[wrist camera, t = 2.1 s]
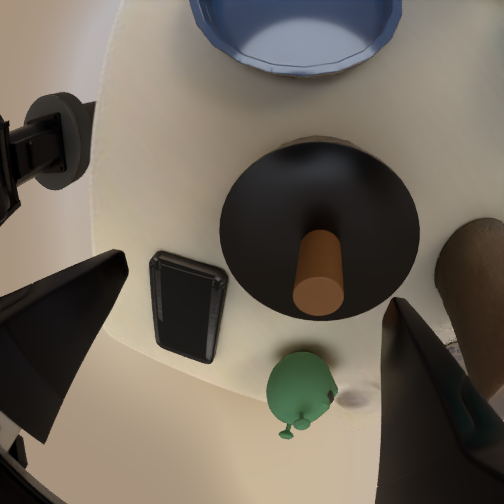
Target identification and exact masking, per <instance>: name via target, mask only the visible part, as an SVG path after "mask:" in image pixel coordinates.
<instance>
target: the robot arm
mask: <svg viewBox="0 0 504 504" xmlns="http://www.w3.org/2000/svg"><path fill="white" fill-rule="evenodd" d="M9 126H10V125H9V121H4V120H3V118H2V117H1V115H0V226H1V225H2V224H3V223H4V222H5V221H6V220H7V219H8V218H9V217H10V216H11V215H12V214H13V213H14V212H15V210H17V209H18V208H19V207H20V206H21V203H20V200H19V196H18V192H17V187H18V186H20V185H22V184H23V183H25V182H27V181H29V180H30V179H32V178H34V177H36V176H38V175H40V174H42V173H63V172H65V171H66V170H67V164H66V157H65V150H64V142H63V133H62V123H61V114H60V113H59V112H56V113H52V114H49V115H45V116H42V117H38V118H35V119H32V120H29V121H27V125H26V126H23V127H20V128H18V129H15V130H13V131H10V132H9ZM128 274H129V269H128V265H127V261H126V257H125V253H124V252H123V251H121V250H117V249H112V250H110V251H107V252H105V253H102V254H100V255H97V256H95V257H92V258H90V259H87V260H85V261H83V262H80V263H78V264H75V265H73V266H71V267H68V268H66V269H64V270H61V271H59V272H57V273H55V274H52V275H50V276H47V277H45V278H43V279H41V280H38V281H36V282H34V283H33V284H30V285H27V286H25V287H23V288H21V289H19V290H17V291H14V292H12V293H9V294H7V295H4V296H2V297H0V504H67V503H65V502H64V501H63V500H61V499H60V498H58V497H57V496H56V495H55V494H53V493H52V492H51V491H49V490H48V489H47V488H46V487H45V486H43V485H42V484H41V483H39V481H37V480H36V479H35V478H34V477H33V476H32V475H31V474H29V473H28V472H27V471H26V470H25V468H26V467H27V465H28V463H27V458H26V453H25V447H24V441H23V437H22V436H20V435H19V432H20V430H21V429H23V430H25V431H26V432H27V433H29V434H30V435H31V436H33V437H34V438H35V439H37V440H38V441H40V442H41V443H43V444H45V442H46V440H47V438H48V435H49V433H50V430H51V428H52V426H53V423H54V421H55V418H56V416H57V414H58V412H59V409H60V407H61V405H62V403H63V399H64V398H65V396H66V394H67V392H68V390H69V388H70V386H71V384H72V382H73V380H74V378H75V375H76V373H77V372H78V370H79V368H80V366H81V364H82V362H83V360H84V358H85V356H86V354H87V352H88V350H89V348H90V347H91V345H92V343H93V341H94V339H95V338H96V335H97V334H98V332H99V330H100V329H101V327H102V325H103V324H104V322H105V320H106V318H107V317H108V315H109V313H110V311H111V310H112V308H113V306H114V304H115V301H116V299H117V297H118V295H119V293H120V291H121V289H122V287H123V285H124V283H125V281H126V279H127V277H128ZM377 486H378V487H377V491H376V499H375V504H504V422H503V420H502V419H501V418H500V416H499V415H498V414H497V413H496V411H495V410H494V409H493V408H492V407H491V405H490V404H489V403H488V401H487V400H486V399H485V398H484V396H483V395H482V394H481V393H480V391H479V390H478V388H477V387H476V386H475V384H474V383H473V382H472V380H471V379H470V378H469V376H468V375H466V372H465V371H464V370H463V368H462V367H461V366H460V364H459V363H458V362H457V360H456V359H455V358H454V357H453V355H452V354H451V353H450V351H449V350H448V349H447V348H446V346H445V345H444V344H443V343H442V341H441V340H440V339H439V338H438V337H437V335H436V334H435V333H434V332H433V330H432V329H431V328H430V327H429V326H428V325H427V323H426V322H425V321H424V320H423V319H422V317H421V316H420V315H419V314H418V313H417V312H416V310H415V309H414V308H413V307H412V306H411V305H410V304H409V303H408V301H407V300H406V299H404V298H398V297H394V298H392V299H391V301H390V303H389V305H388V308H387V310H386V312H385V314H384V317H383V321H382V346H381V446H380V462H379V474H378V483H377Z"/></svg>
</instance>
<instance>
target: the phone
mask: <svg viewBox="0 0 504 504" xmlns="http://www.w3.org/2000/svg"><path fill="white" fill-rule="evenodd" d="M149 270H150V286H151V299H152V310H153V321H154V330H155V338H156V343H157V344H158V345H159V346H160V347H161V348H163V349H166V350H168V351H171V352H173V353H176V354H179V355H181V356H184V357H187V358H190V359H193V360H195V361H198V362H201V363H204V364H211V363H212V362H213V360H214V357H215V354H216V348H217V342H218V336H219V330H220V324H221V318H222V312H223V307H224V301H225V295H226V289H227V284H228V277H227V275H226V274H225V272H223V271H222V270H221V269H218V268H215V267H212V266H209V265H205V264H202V263H199V262H196V261H192V260H189V259H186V258H183V257H179V256H176V255H173V254H170V253H167V252H163V251H160V252H157V253H156V254H155V255H154V256H153V257H152V259H151V260H150V262H149Z"/></svg>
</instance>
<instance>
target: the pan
mask: <svg viewBox="0 0 504 504" xmlns="http://www.w3.org/2000/svg"><path fill="white" fill-rule="evenodd" d="M189 3H190V6H191V9H192V12H193V15H194V18H195V22H196V24H197V26H198V27H199V29H200V30H201V31H202V32H203V34H204V35H205V36H206V37H207V39H208V40H209V41H210V42H211V44H212V45H213V46H214V47H216V48H217V49H219V50H221V51H222V52H224V53H225V54H227V55H228V56H230V57H231V58H233V59H234V60H236V61H237V62H239V63H241V64H244V65H247V66H250V67H253V68H256V69H259V70H262V71H265V72H267V73H270V74H273V75H276V76H284V77H292V78H304V79H307V78H308V79H310V78H317V77H324V76H330V75H337V74H340V73H342V72H344V71H346V70H348V69H351V68H353V67H355V66H357V65H360V64H362V63H364V62H365V61H367V60H369V59H370V58H371V57H373V56H374V55H375V54H376V53H377V52H378V51H379V50H380V49H381V48H382V47H383V46H384V45H385V44H387V43H388V42H389V41H390V40H391V39H392V37H393V34H394V32H395V30H396V28H397V25H398V23H399V21H400V19H401V16H402V0H189Z"/></svg>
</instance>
